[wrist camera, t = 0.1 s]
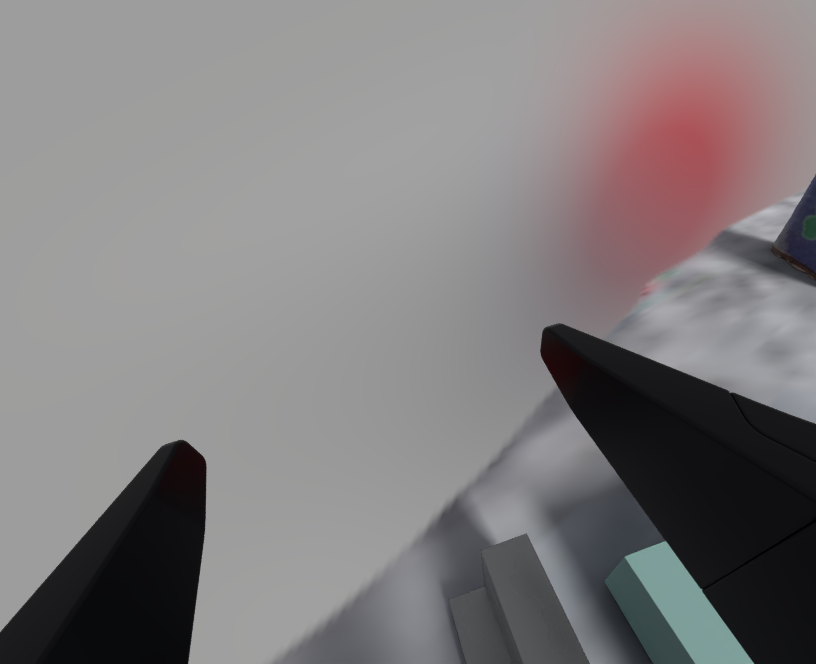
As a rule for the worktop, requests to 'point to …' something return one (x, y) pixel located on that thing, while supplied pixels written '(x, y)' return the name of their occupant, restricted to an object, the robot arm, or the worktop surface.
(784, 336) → the worktop surface
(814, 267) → the flask
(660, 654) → the slot block
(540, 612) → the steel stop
